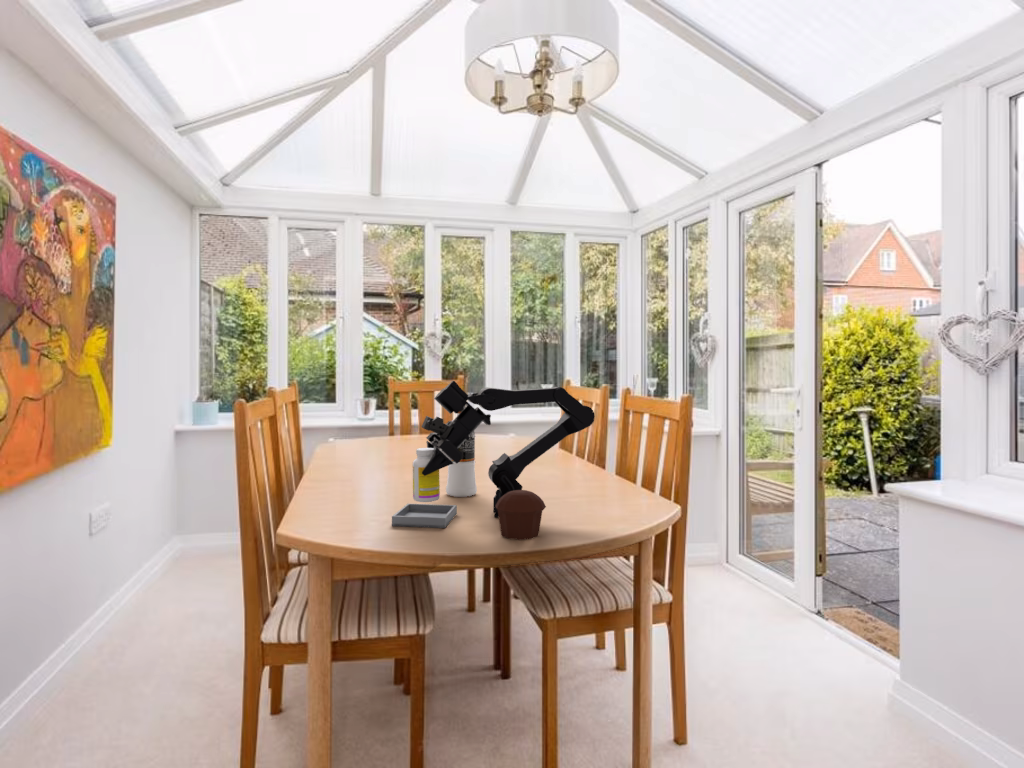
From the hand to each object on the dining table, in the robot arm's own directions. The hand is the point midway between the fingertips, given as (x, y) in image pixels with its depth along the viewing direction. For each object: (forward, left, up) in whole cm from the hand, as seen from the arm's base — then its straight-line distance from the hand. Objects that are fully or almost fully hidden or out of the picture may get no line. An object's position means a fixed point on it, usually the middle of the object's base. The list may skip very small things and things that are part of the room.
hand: (420, 472), depth 149 cm
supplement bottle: (-1, -1, -7) cm, 7 cm away
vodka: (-4, -30, -12) cm, 33 cm away
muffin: (-26, +9, -12) cm, 30 cm away
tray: (-1, 0, -12) cm, 12 cm away
